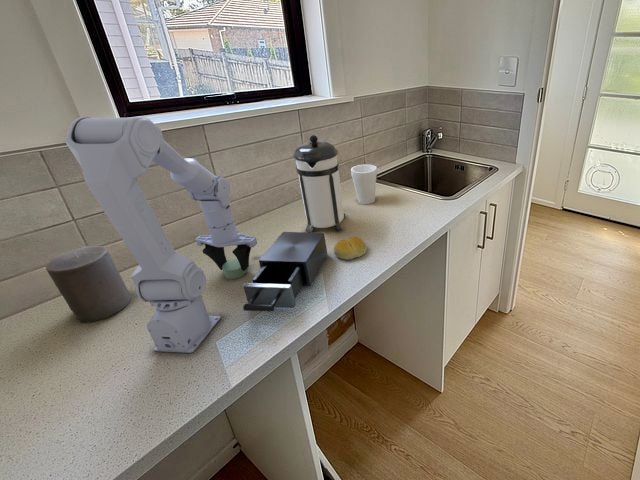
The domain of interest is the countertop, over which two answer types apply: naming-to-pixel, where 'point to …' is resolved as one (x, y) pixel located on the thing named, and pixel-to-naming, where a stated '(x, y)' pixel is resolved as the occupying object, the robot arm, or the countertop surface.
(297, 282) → the dish drawer
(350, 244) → the bread roll
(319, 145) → the coffee press
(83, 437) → the countertop surface
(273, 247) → the drawer cabinet
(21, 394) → the countertop surface
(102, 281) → the pillar candle
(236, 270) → the green short cylinder
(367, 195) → the foam cup
